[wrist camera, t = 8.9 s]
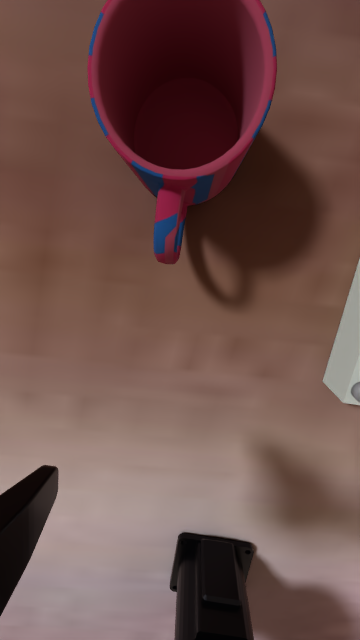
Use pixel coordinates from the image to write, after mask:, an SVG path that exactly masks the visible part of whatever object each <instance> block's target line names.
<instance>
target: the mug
mask: <svg viewBox="0 0 360 640" xmlns="http://www.w3.org/2000/svg"><path fill="white" fill-rule="evenodd" d="M276 73H277V59H276V46H275V41H274V36H273V30H272V27H271V24H270V21H269V19H268V16H267V13H266V11H265V9H264V7H263V5H262V3H261V2H260V0H107V2H106V4H105V5H104V7H103V8H102V11H101V13H100V15H99V18H98V20H97V22H96V25H95V27H94V31H93V35H92V39H91V43H90V47H89V57H88V86H89V92H90V97H91V102H92V106H93V109H94V112H95V115H96V118H97V120H98V123H99V125H100V127H101V128H102V130H103V132H104V134H105V136H106V138H107V139H108V140H109V142H110V143H111V144H112V146H113V147H114V148H115V150H116V151H117V152H118V154H119V155H120V156H121V157H122V159H123V160H124V161H125V162H126V164H127V165H128V166H129V167H130V169H131V170H132V171H133V172H134V174H135V175H136V176H137V177H138V179H139V180H140V181H141V182H142V184H143V185H144V186H145V187H146V188H147V189H148V190H149V191H150V192H151V193H152V194H153V195H155V196H156V197H157V205H156V215H155V226H154V254H155V257H156V259H157V261H158V262H161V263H164V264H175V263H176V262H177V261H178V259H179V256H180V250H181V244H182V237H183V230H184V224H185V218H186V213H187V207H188V206H190V205H196V204H200V203H203V202H206V201H208V200H210V199H211V198H213V197H215V196H216V195H217V194H219V193H220V192H221V191H222V190H223V189H224V188H225V187H226V186H227V185H228V184H229V182H230V181H231V179H232V178H233V176H234V175H235V173H236V171H237V169H238V168H239V166H240V164H241V162H242V161H243V159H244V157H245V155H246V153H247V152H248V150H249V148H250V146H251V145H252V143H253V141H254V139H255V138H256V136H257V134H258V132H259V130H260V129H261V127H262V125H263V123H264V120H265V118H266V116H267V113H268V111H269V109H270V105H271V101H272V98H273V94H274V90H275V82H276Z"/></svg>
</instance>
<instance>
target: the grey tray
mask: <svg viewBox="0 0 360 640" xmlns="http://www.w3.org/2000/svg"><path fill="white" fill-rule="evenodd" d="M323 382H324V383H325V384H326V385H327V387H328V388H329V389H330V390H331V391H332V392H333V393H334V394H335V395H336V396H337V397H338V398H339V399H340V400H341V401H342V402H343V403H348V404H355V405H360V259H359V262H358V266H357V269H356V272H355V276H354V279H353V282H352V286H351V289H350V292H349V296H348V299H347V302H346V305H345V309H344V312H343V315H342V319H341V322H340V325H339V329H338V332H337V335H336V339H335V342H334V345H333V348H332V352H331V355H330V358H329V362H328V365H327V368H326V372H325V375H324V378H323Z"/></svg>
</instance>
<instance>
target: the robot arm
mask: <svg viewBox="0 0 360 640" xmlns="http://www.w3.org/2000/svg"><path fill="white" fill-rule="evenodd" d="M57 492H58V468H57V467H55V466H48V465H43V466H41V467H40V468H38V469H37V470H35V471H34V472H33V473H31V474H30V475H28V476H27V477H25V478H24V479H23V480H21V481H20V482H18V483H17V484H15V485H14V486H13V487H11V488H10V489H8V490H7V491H5V492H4V493H3V494H1V495H0V616H1V614H2V612H3V610H4V608H5V607H6V605H7V603H8V601H9V599H10V597H11V595H12V593H13V591H14V589H15V588H16V586H17V584H18V582H19V580H20V578H21V576H22V574H23V572H24V570H25V568H26V566H27V564H28V562H29V560H30V558H31V556H32V553H33V551H34V549H35V546H36V544H37V542H38V539H39V537H40V535H41V532H42V530H43V527H44V525H45V523H46V520H47V518H48V516H49V513H50V511H51V508H52V506H53V504H54V501H55V499H56V496H57ZM253 553H254V551H253V546H252V545H251V544H250V543H245V542H238V541H232V540H225V539H219V538H212V537H205V536H199V535H192V534H186V533H182V534H180V535H179V536H178V540H177V546H176V552H175V557H174V563H173V568H172V574H171V580H170V589H171V590H172V591H175V592H177V600H176V620H175V640H254V637H253V631H252V624H251V618H250V611H249V605H248V598H247V592H246V585H245V582H246V578H247V575H248V571H249V568H250V564H251V560H252V557H253Z"/></svg>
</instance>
